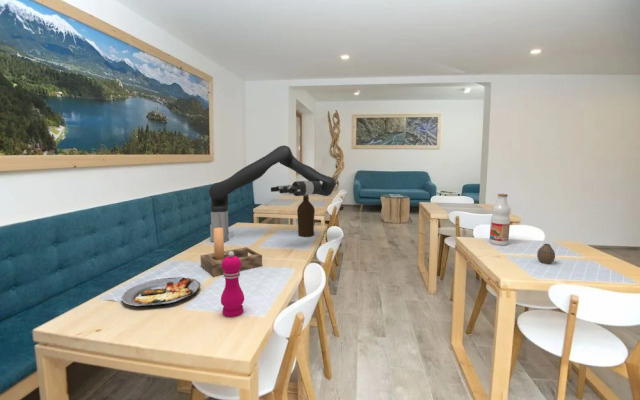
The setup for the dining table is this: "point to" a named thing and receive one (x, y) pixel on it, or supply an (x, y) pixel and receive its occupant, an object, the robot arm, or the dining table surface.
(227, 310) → the pepper mill
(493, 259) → the dining table surface
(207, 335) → the dining table surface
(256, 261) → the keyhole base
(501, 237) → the fruit juice
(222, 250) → the peg
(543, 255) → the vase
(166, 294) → the food plate
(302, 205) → the olive oil
